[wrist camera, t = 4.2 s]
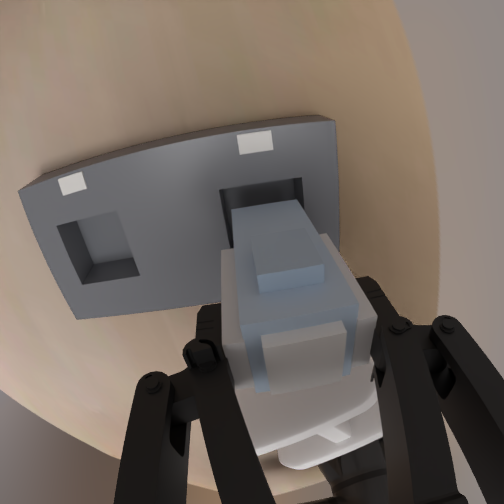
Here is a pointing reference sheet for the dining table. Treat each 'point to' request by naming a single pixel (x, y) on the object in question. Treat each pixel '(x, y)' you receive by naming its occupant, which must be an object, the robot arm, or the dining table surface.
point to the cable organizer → (314, 419)
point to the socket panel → (175, 210)
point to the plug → (291, 300)
